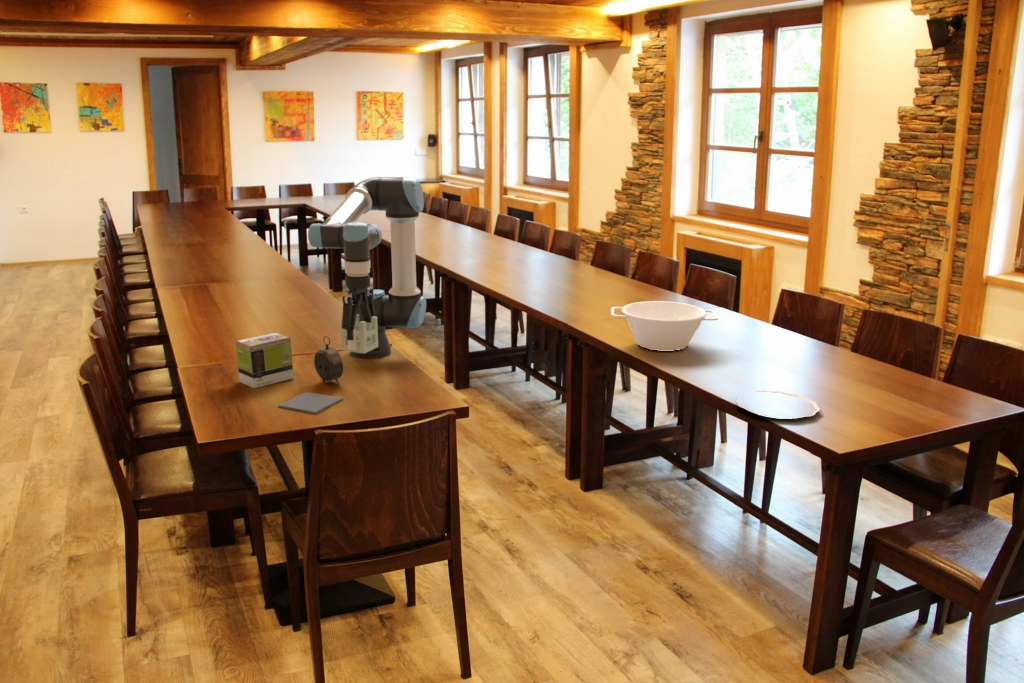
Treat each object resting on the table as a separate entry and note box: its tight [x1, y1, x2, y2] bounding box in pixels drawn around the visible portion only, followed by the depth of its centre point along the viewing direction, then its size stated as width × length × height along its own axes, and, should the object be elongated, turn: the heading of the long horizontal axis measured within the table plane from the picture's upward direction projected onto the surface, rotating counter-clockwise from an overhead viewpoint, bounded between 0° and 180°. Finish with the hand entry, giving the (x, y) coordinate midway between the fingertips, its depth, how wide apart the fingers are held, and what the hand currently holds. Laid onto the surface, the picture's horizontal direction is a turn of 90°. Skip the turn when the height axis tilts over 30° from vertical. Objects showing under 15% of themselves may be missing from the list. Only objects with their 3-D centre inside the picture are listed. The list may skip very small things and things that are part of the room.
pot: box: [610, 300, 719, 350], centre depth 342 cm, size 40×32×14 cm
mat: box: [277, 391, 344, 415], centre depth 276 cm, size 14×14×1 cm
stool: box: [340, 314, 378, 353], centre depth 275 cm, size 8×8×10 cm
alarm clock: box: [313, 335, 344, 386], centre depth 294 cm, size 11×5×16 cm, turn 47°
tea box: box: [235, 331, 294, 389], centre depth 296 cm, size 15×10×15 cm
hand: (360, 346), depth 276 cm, fingers closed on stool, 8 cm apart
